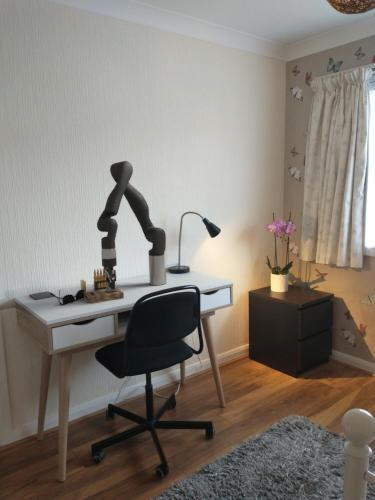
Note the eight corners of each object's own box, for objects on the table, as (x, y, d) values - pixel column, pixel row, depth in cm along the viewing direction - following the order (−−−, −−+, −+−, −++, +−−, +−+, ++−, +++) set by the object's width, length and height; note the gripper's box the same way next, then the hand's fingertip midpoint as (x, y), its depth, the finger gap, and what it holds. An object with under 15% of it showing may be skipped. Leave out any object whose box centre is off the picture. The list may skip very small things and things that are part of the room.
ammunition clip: (94, 290, 226) (93, 269, 224) (93, 290, 228) (92, 269, 226) (112, 287, 232) (111, 267, 230) (111, 287, 233) (110, 266, 231)
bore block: (117, 293, 220) (116, 287, 219) (123, 298, 209) (123, 292, 209) (83, 297, 212) (83, 292, 212) (88, 303, 201) (88, 297, 201)
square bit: (113, 295, 215) (113, 280, 214) (115, 297, 211) (115, 282, 210) (106, 296, 213) (105, 281, 212) (108, 298, 210) (107, 283, 208)
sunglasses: (66, 295, 220) (65, 286, 219) (87, 297, 213) (86, 288, 212) (42, 303, 205) (42, 293, 204) (64, 306, 198) (63, 296, 198)
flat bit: (84, 294, 219) (83, 279, 218) (86, 296, 215) (85, 281, 214) (81, 294, 219) (80, 280, 217) (83, 296, 215) (82, 281, 213)
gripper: (120, 258, 204) (121, 289, 207) (112, 254, 217) (113, 283, 220) (105, 259, 201) (107, 291, 204) (98, 255, 214) (100, 285, 216)
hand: (110, 287), depth 212 cm, fingers open, 8 cm apart
